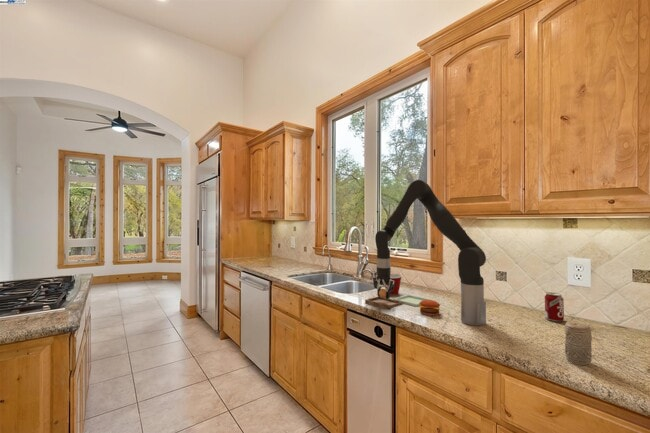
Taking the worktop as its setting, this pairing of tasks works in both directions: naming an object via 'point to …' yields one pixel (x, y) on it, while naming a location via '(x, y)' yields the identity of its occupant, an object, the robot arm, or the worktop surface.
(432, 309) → the hamburger
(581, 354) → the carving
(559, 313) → the soda can
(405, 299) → the dish
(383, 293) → the ball
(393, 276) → the plastic cup
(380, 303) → the tray
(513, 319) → the worktop surface
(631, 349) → the worktop surface
